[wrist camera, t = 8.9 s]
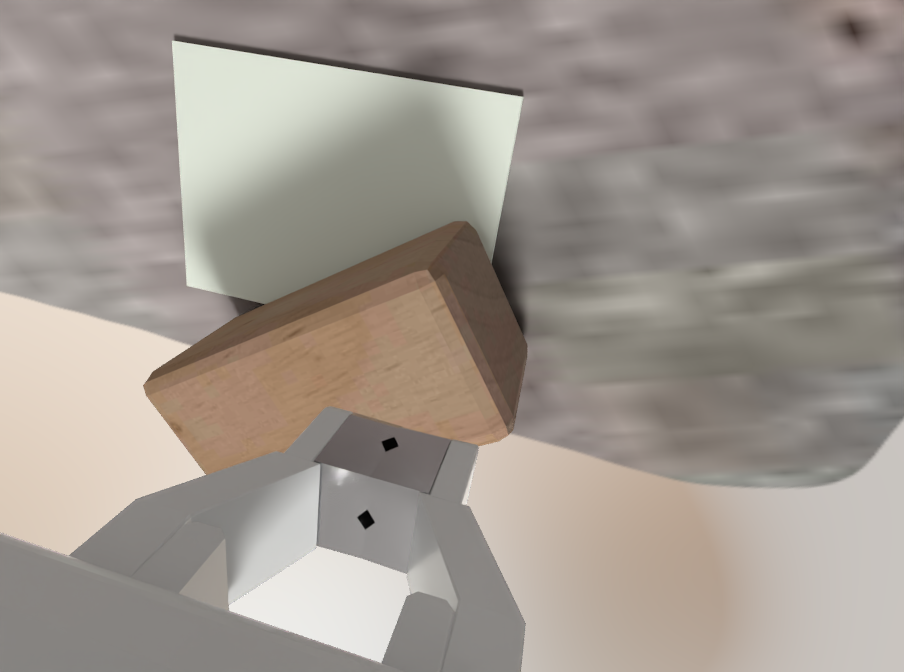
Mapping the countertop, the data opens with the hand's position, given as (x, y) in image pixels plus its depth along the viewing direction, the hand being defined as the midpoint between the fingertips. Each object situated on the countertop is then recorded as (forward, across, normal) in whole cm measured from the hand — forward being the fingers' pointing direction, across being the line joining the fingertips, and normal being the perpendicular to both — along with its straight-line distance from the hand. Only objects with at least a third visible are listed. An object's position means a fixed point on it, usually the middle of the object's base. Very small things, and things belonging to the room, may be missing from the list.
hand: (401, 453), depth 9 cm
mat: (+23, +12, +1) cm, 26 cm away
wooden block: (+18, 0, +4) cm, 18 cm away
